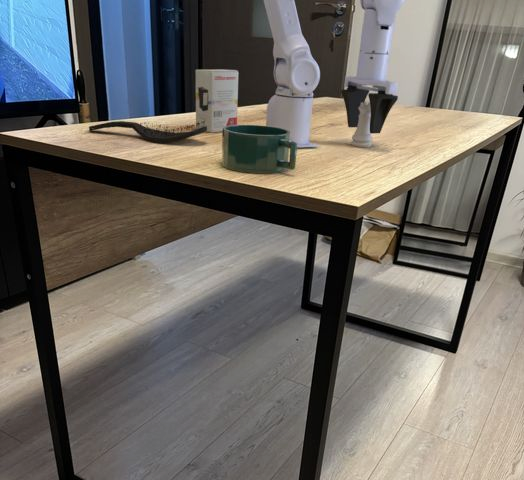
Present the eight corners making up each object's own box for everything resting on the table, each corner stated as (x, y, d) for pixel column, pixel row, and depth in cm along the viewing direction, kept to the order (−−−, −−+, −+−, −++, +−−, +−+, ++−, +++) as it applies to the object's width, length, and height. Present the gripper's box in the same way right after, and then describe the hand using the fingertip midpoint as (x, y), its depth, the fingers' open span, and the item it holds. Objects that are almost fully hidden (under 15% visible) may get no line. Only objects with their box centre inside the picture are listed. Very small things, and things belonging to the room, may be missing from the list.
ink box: (221, 126, 121) (223, 68, 115) (238, 130, 119) (240, 70, 113) (194, 129, 116) (194, 68, 110) (211, 133, 113) (211, 70, 107)
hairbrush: (100, 113, 109) (213, 118, 102) (102, 132, 111) (214, 139, 104) (75, 117, 102) (195, 124, 95) (78, 138, 104) (196, 145, 97)
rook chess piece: (351, 146, 108) (357, 103, 104) (349, 143, 112) (354, 101, 108) (373, 148, 108) (380, 105, 104) (370, 144, 112) (376, 102, 108)
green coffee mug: (208, 163, 86) (208, 127, 83) (254, 157, 93) (256, 123, 90) (270, 180, 78) (272, 140, 76) (315, 172, 85) (319, 135, 82)
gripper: (415, 56, 98) (402, 135, 104) (368, 52, 109) (359, 124, 116) (385, 54, 95) (373, 136, 102) (339, 51, 106) (331, 124, 113)
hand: (363, 130), depth 108 cm, fingers open, 7 cm apart
